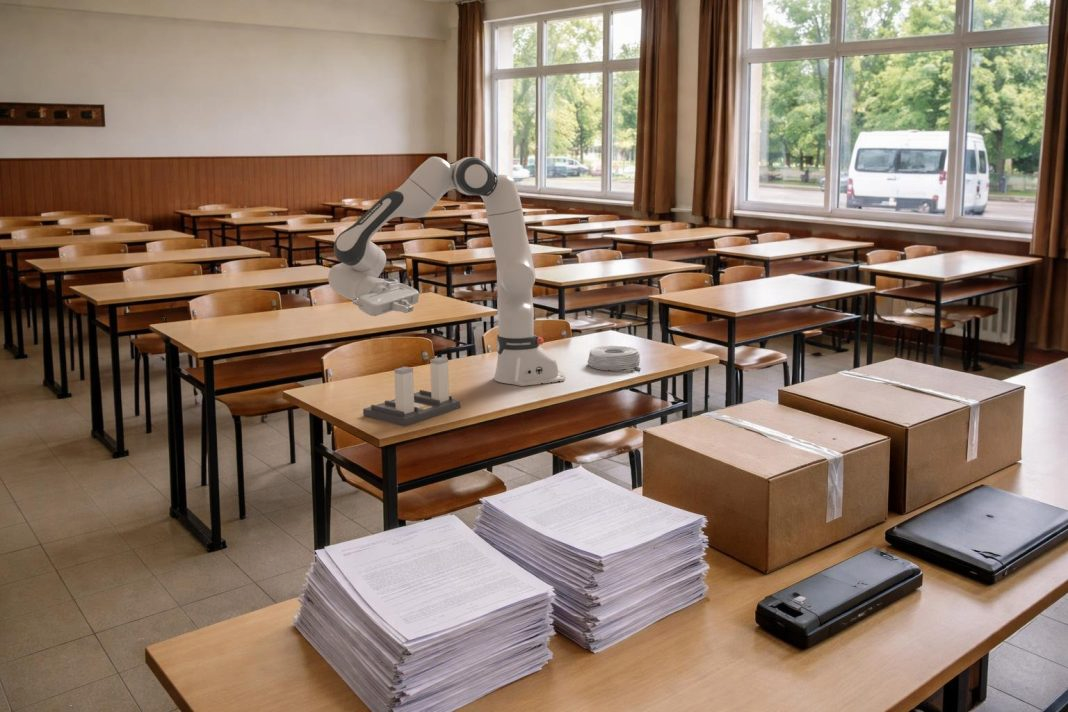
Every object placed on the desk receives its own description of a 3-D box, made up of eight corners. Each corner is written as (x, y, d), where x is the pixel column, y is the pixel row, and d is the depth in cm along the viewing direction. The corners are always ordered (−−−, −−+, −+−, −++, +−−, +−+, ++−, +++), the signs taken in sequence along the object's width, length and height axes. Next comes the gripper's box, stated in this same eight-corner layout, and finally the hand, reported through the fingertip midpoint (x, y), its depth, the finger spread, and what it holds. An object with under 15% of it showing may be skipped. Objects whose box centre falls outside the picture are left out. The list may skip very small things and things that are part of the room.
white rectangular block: (395, 412, 251) (394, 369, 248) (406, 409, 254) (404, 366, 251) (403, 414, 249) (402, 370, 246) (414, 411, 252) (413, 368, 249)
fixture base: (363, 415, 256) (363, 404, 255) (418, 398, 273) (418, 388, 272) (405, 426, 246) (405, 414, 246) (460, 407, 264) (460, 396, 263)
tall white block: (431, 401, 262) (430, 359, 259) (440, 398, 265) (440, 357, 262) (439, 403, 260) (438, 361, 257) (448, 399, 263) (448, 358, 260)
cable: (642, 373, 304) (642, 355, 302) (588, 373, 304) (588, 355, 303) (637, 361, 321) (638, 343, 319) (586, 360, 321) (587, 343, 320)
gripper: (350, 290, 262) (387, 307, 256) (397, 277, 279) (433, 292, 273) (347, 311, 265) (384, 328, 259) (395, 296, 281) (430, 312, 275)
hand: (410, 309), depth 266 cm, fingers closed
